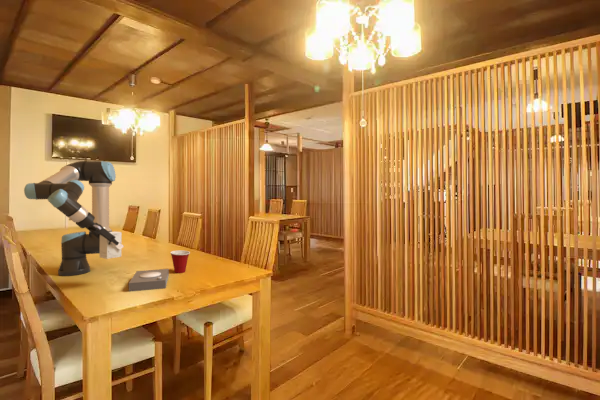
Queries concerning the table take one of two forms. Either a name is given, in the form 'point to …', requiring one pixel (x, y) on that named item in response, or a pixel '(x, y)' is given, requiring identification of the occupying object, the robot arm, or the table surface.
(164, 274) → the grey base plate
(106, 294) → the table surface
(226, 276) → the table surface
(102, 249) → the supplement box
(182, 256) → the plastic cup
